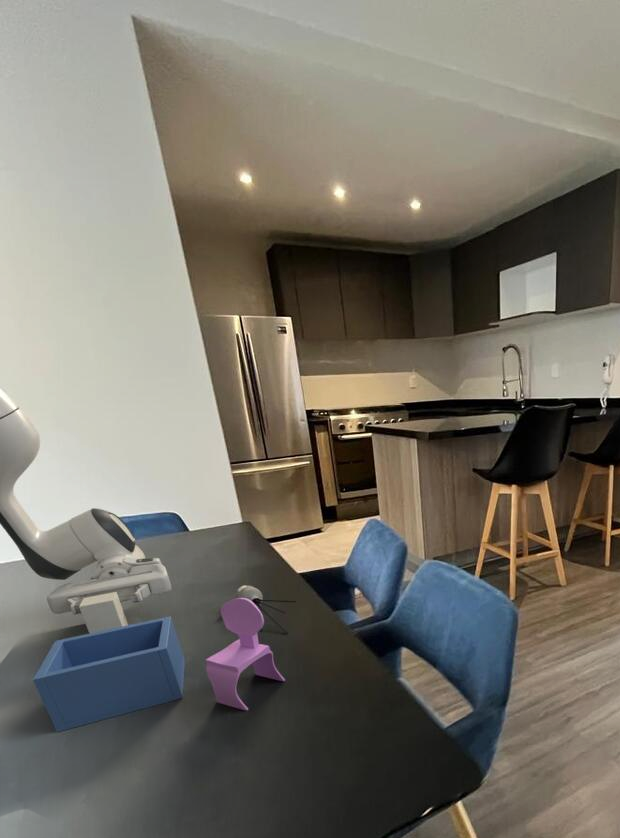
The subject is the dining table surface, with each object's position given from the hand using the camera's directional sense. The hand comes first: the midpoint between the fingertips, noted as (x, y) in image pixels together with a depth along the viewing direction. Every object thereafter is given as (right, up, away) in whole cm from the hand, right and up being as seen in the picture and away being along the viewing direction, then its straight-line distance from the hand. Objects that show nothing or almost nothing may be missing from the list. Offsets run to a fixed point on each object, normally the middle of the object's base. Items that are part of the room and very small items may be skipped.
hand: (107, 604), depth 91 cm
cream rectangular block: (+2, -10, 0) cm, 10 cm away
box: (+12, -14, -12) cm, 21 cm away
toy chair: (+32, -13, -13) cm, 37 cm away
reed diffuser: (+25, -4, +10) cm, 27 cm away
